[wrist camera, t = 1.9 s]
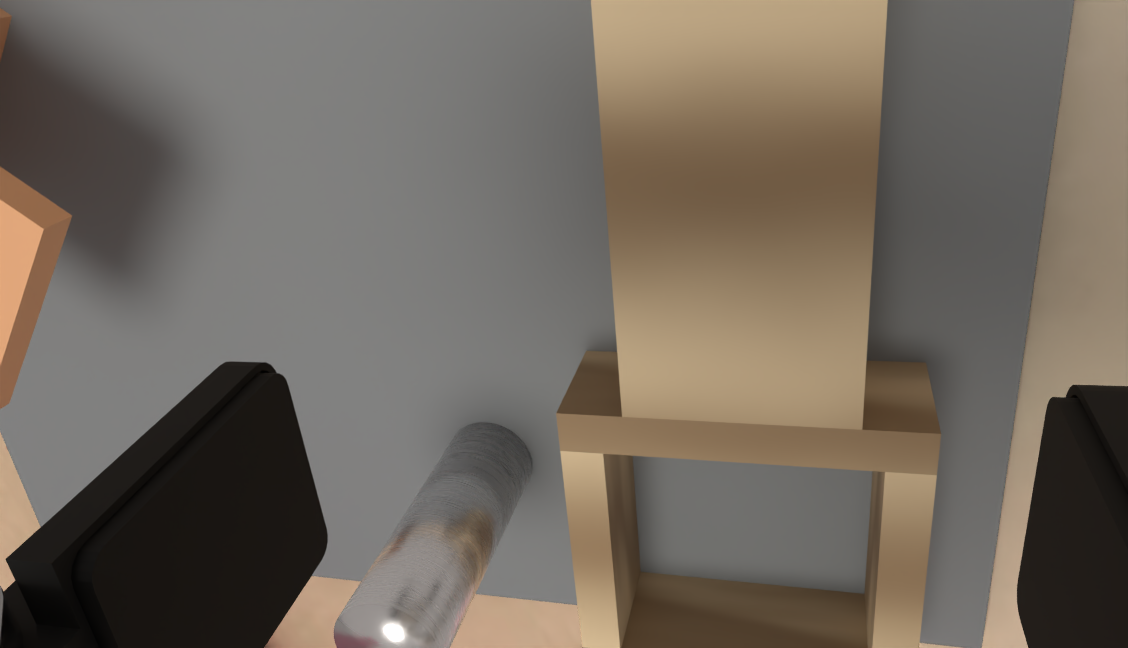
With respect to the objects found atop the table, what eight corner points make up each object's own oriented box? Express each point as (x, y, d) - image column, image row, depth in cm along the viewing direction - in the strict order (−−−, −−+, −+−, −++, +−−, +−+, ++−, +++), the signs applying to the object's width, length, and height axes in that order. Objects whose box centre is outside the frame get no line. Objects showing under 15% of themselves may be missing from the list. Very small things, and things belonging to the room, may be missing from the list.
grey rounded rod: (527, 424, 24) (430, 611, 18) (537, 497, 25) (448, 696, 19) (444, 419, 25) (323, 598, 19) (456, 491, 26) (345, 682, 20)
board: (1088, -166, 16) (1098, -167, 16) (978, 632, 24) (981, 649, 24) (-176, -37, 24) (-197, -34, 24) (61, 535, 32) (49, 546, 32)
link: (901, 626, 24) (911, 717, 22) (608, 595, 26) (585, 675, 24) (970, -123, 16) (998, -120, 14) (546, -83, 19) (501, -75, 16)
